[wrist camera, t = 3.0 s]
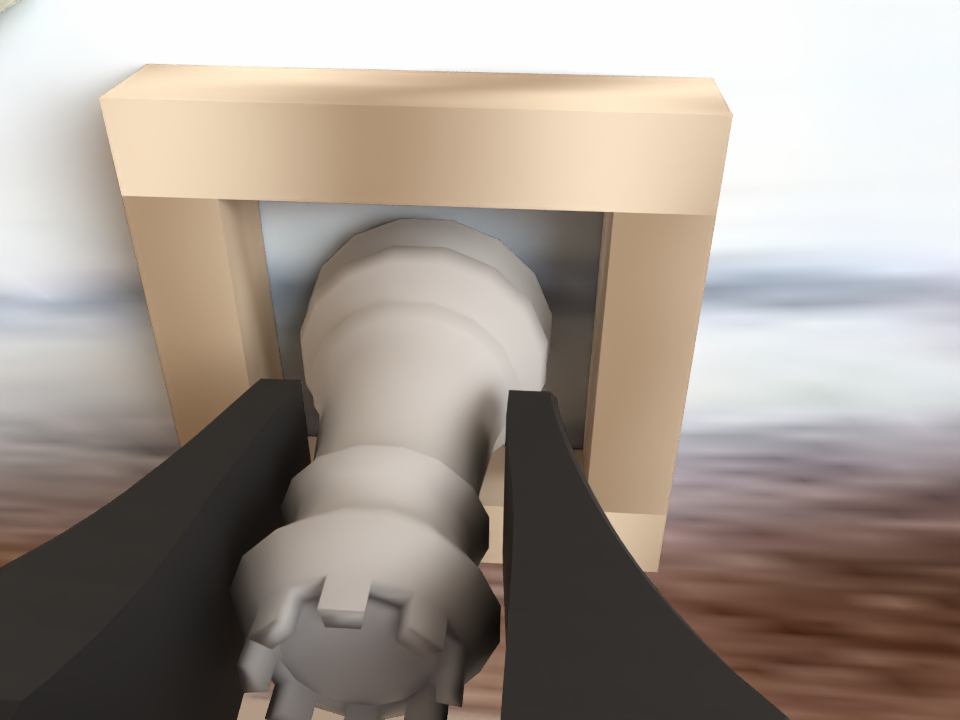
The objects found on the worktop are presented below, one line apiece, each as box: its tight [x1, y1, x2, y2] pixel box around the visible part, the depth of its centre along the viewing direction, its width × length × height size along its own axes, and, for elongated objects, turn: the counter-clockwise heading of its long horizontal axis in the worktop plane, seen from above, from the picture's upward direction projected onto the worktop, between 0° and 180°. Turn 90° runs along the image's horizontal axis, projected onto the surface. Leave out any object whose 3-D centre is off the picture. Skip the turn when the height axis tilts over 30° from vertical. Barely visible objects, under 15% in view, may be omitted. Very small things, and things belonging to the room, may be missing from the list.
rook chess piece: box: [229, 219, 552, 720], centre depth 13 cm, size 4×4×8 cm
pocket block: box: [99, 64, 733, 572], centre depth 16 cm, size 9×9×2 cm
